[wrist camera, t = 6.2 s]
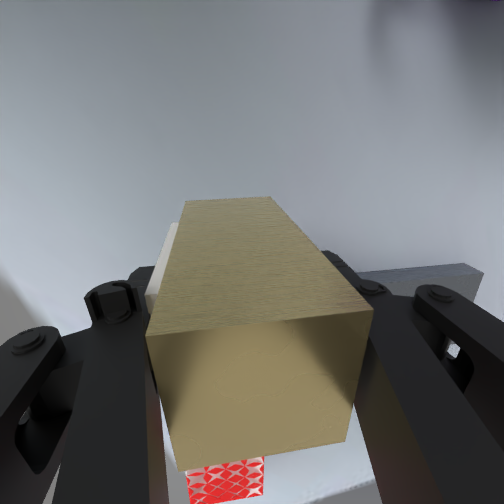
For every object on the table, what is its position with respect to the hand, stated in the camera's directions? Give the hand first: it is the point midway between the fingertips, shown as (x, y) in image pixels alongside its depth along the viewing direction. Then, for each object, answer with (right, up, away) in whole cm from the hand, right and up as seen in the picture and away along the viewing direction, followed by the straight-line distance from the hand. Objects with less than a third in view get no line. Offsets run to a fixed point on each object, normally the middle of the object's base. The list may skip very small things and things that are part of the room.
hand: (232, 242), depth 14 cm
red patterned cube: (-3, -21, +21) cm, 30 cm away
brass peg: (0, 0, +1) cm, 1 cm away
